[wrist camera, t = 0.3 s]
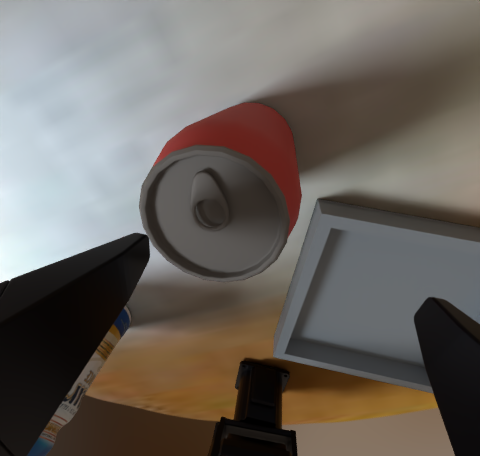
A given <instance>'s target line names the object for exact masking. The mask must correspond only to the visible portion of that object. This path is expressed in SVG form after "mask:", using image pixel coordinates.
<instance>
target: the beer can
mask: <svg viewBox="0 0 480 456" xmlns="http://www.w3.org/2000/svg"><path fill="white" fill-rule="evenodd" d="M301 197H302V194H301V187H300V180H299V173H298V166H297V159H296V152H295V145H294V140H293V134H292V131H291V129H290V128H289V126H288V124H287V122H286V120H285V119H284V118H283V117H282V116H281V115H280V114H279V113H277V112H276V111H275V110H274V109H272V108H270V107H268V106H265V105H263V104H260V103H242V104H238V105H235V106H232V107H230V108H227V109H225V110H223V111H220V112H218V113H216V114H214V115H211V116H209V117H207V118H205V119H202V120H200V121H198V122H196V123H193V124H191V125H189V126H187V127H185V128H184V129H183V130H181V131H180V132H179V133H178V134H176V135H175V136H174V137H173V138H171V139H170V140H169V141H168V142H167V143H166V145H165V146H164V148H163V149H162V151H161V153H160V155H159V156H158V158H157V160H156V162H155V163H154V165H153V167H152V169H151V170H150V172H149V174H148V176H147V177H146V179H145V181H144V183H143V184H142V188H141V195H140V202H139V209H140V214H141V219H142V224H143V228H144V229H145V231H146V233H147V235H148V237H149V239H150V241H151V243H152V244H153V246H154V247H155V248H156V249H157V250H158V251H159V252H160V253H161V254H162V256H163V257H164V258H165V259H166V260H167V261H169V262H170V263H172V264H173V265H175V266H176V267H178V268H179V269H181V270H182V271H184V272H185V273H188V274H191V275H193V276H196V277H199V278H201V279H204V280H211V281H219V282H230V281H238V280H245V279H247V278H250V277H252V276H254V275H257V274H259V273H262V272H263V271H264V270H265V269H267V268H268V267H269V266H270V265H271V264H272V263H274V262H275V261H276V260H277V259H278V257H279V255H280V253H281V252H282V250H283V248H284V246H285V245H286V243H287V238H288V237H289V235H290V233H291V231H292V230H293V228H294V226H295V224H296V222H297V219H298V215H299V209H300V203H301Z"/></svg>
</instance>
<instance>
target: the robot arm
mask: <svg viewBox="0 0 480 456" xmlns="http://www.w3.org/2000/svg"><path fill="white" fill-rule="evenodd" d="M149 258H150V249H149V238H148V236H147V235H145V234H140V233H133V234H130V235H128V236H125V237H122V238H120V239H117V240H114V241H112V242H109V243H106V244H104V245H101V246H98V247H95V248H93V249H90V250H87V251H85V252H82V253H79V254H77V255H74V256H71V257H69V258H66V259H63V260H61V261H58V262H55V263H53V264H50V265H47V266H45V267H42V268H39V269H37V270H34V271H31V272H29V273H26V274H23V275H21V276H18V277H15V278H12V279H11V280H10V281H8V280H7V281H4V282H2V283H0V456H27V455H28V453H29V452H30V450H31V449H32V447H33V446H34V444H35V443H36V441H37V440H38V438H39V437H40V435H41V434H42V432H43V431H44V429H45V428H46V426H47V424H48V423H49V421H50V420H51V418H52V417H53V415H54V414H55V412H56V411H57V409H58V408H59V406H60V405H61V403H62V402H63V400H64V399H65V397H66V395H67V394H68V392H69V391H70V389H71V388H72V386H73V385H74V383H75V382H76V380H77V379H78V377H79V376H80V374H81V373H82V371H83V370H84V368H85V366H86V365H87V363H88V362H89V360H90V359H91V357H92V356H93V354H94V353H95V351H96V350H97V348H98V347H99V345H100V344H101V342H102V341H103V339H104V337H105V336H106V334H107V333H108V331H109V330H110V328H111V327H112V325H113V324H114V322H115V321H116V319H117V318H118V316H119V315H120V313H121V312H122V310H123V308H124V307H125V305H126V304H127V302H128V300H129V299H130V297H131V295H132V293H133V291H134V289H135V287H136V285H137V283H138V281H139V279H140V277H141V275H142V273H143V271H144V269H145V267H146V265H147V263H148V261H149ZM414 324H415V328H416V333H417V337H418V341H419V345H420V349H421V353H422V358H423V362H424V366H425V369H426V372H427V376H428V379H429V382H430V384H431V387H432V390H433V393H434V396H435V399H436V402H437V405H438V408H439V410H440V413H441V416H442V419H443V422H444V425H445V428H446V431H447V433H448V436H449V439H450V442H451V445H452V448H453V451H454V454H455V456H480V324H479V323H478V322H476V321H475V320H473V319H472V318H471V317H469V316H468V315H466V314H465V313H464V312H462V311H461V310H459V309H458V308H457V307H455V306H454V305H452V304H451V303H450V302H448V301H447V300H445V299H441V298H436V297H428V298H427V299H426V300H425V301H424V302H423V304H422V305H421V306H420V308H419V309H418V310H417V311H416V313H415V315H414ZM288 379H289V372H288V371H285V370H281V369H277V368H272V367H268V366H264V365H259V364H255V363H251V362H246V361H241V362H240V366H239V371H238V375H237V380H236V384H235V388H236V389H238V395H237V402H236V408H235V415H234V420H232V419H226V417H221V420H220V422H217V423H216V426H215V430H214V435H213V439H212V443H211V446H210V450H209V453H208V456H297V445H296V444H297V443H296V431H293V430H291V431H289V430H283V429H282V393H283V391H284V388H285V386H286V384H287V381H288Z"/></svg>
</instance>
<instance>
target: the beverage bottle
mask: <svg viewBox="0 0 480 456" xmlns="http://www.w3.org/2000/svg"><path fill="white" fill-rule="evenodd" d="M130 323H131V315H130V312H129V310H128V308H127V306H126V305H125V307H124V308H123V310H122V312H121V313H120V315H119V316H118V318H117V319H116V321H115V322H114V324H113V325H112V327H111V328H110V330H109V331H108V333H107V334H106V336H105V337H104V339H103V341H102V342H101V344H100V345H99V347H98V348H97V350H96V351H95V353H94V354H93V356H92V357H91V359H90V360H89V362H88V363H87V365H86V366H85V368H84V370H83V371H82V373H81V374H80V376H79V377H78V379H77V380H76V382H75V383H74V385H73V386H72V388H71V389H70V391H69V392H68V394H67V395H66V397H65V399H64V400H63V402H62V403H61V405H60V406H59V408H58V409H57V411H56V412H55V414H54V415H53V417H52V418H51V420H50V421H49V423H48V424H47V426H46V428H45V429H44V431H43V432H42V434H41V435H40V437H39V438H38V440H37V441H36V443H35V444H34V446H33V447H32V449H31V450H30V452H29V453H28V455H27V456H45V455H46V454H47V453H48V452H49V451H50V450H51V448H52V447H53V445H54V442H55V437H56V434H57V432H58V431H59V429H60V428H61V427H63V426H64V425H65V424H66V423H68V422H69V421H70V420H71V419H72V417H73V416H74V415H75V413H76V412H77V410H78V409H79V406H80V404H81V400H82V398H83V396H84V395H85V393H86V391H87V390H88V388H89V387H90V385H91V384H92V382H93V380H94V379H95V377H96V376H97V374H98V372H99V371H100V369H101V368H102V366H103V365H104V363H105V362H106V360H107V358H108V357H109V355H110V354H111V352H112V351H113V349H114V348H115V346H116V344H117V343H118V341H119V340H120V339H121V337H122V336H123V335H124V334H125V332H126V331H127V329H128V328H129V326H130Z"/></svg>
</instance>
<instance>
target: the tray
mask: <svg viewBox="0 0 480 456" xmlns="http://www.w3.org/2000/svg"><path fill="white" fill-rule="evenodd" d="M428 297H436V298H441V299H445V300H447V301H448V302H450V303H451V304H452V305H454V306H455V307H457V308H458V309H459V310H461V311H462V312H464V313H465V314H466V315H468V316H469V317H471V318H472V319H473V320H475V321H476V322H478V323H479V324H480V228H478V227H473V226H467V225H461V224H456V223H450V222H445V221H439V220H434V219H428V218H422V217H417V216H411V215H406V214H400V213H395V212H389V211H383V210H378V209H372V208H367V207H361V206H356V205H350V204H344V203H339V202H333V201H328V200H322V199H317V202H316V205H315V208H314V212H313V215H312V218H311V221H310V224H309V227H308V231H307V234H306V237H305V240H304V243H303V246H302V250H301V253H300V256H299V259H298V262H297V265H296V268H295V272H294V275H293V278H292V281H291V284H290V287H289V291H288V294H287V297H286V300H285V303H284V306H283V310H282V313H281V316H280V319H279V322H278V325H277V329H276V332H275V335H274V352H273V357H275V358H280V359H284V360H289V361H293V362H297V363H302V364H306V365H311V366H315V367H319V368H324V369H328V370H333V371H337V372H342V373H346V374H350V375H355V376H359V377H364V378H368V379H372V380H377V381H381V382H386V383H390V384H394V385H399V386H403V387H408V388H412V389H417V390H421V391H425V392H430V393H433V390H432V387H431V384H430V382H429V379H428V376H427V372H426V369H425V366H424V362H423V358H422V353H421V349H420V345H419V341H418V337H417V333H416V328H415V324H414V315H415V313H416V311H417V310H418V309H419V308H420V306H421V305H422V304H423V302H424V301H425V300H426V299H427V298H428Z"/></svg>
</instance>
